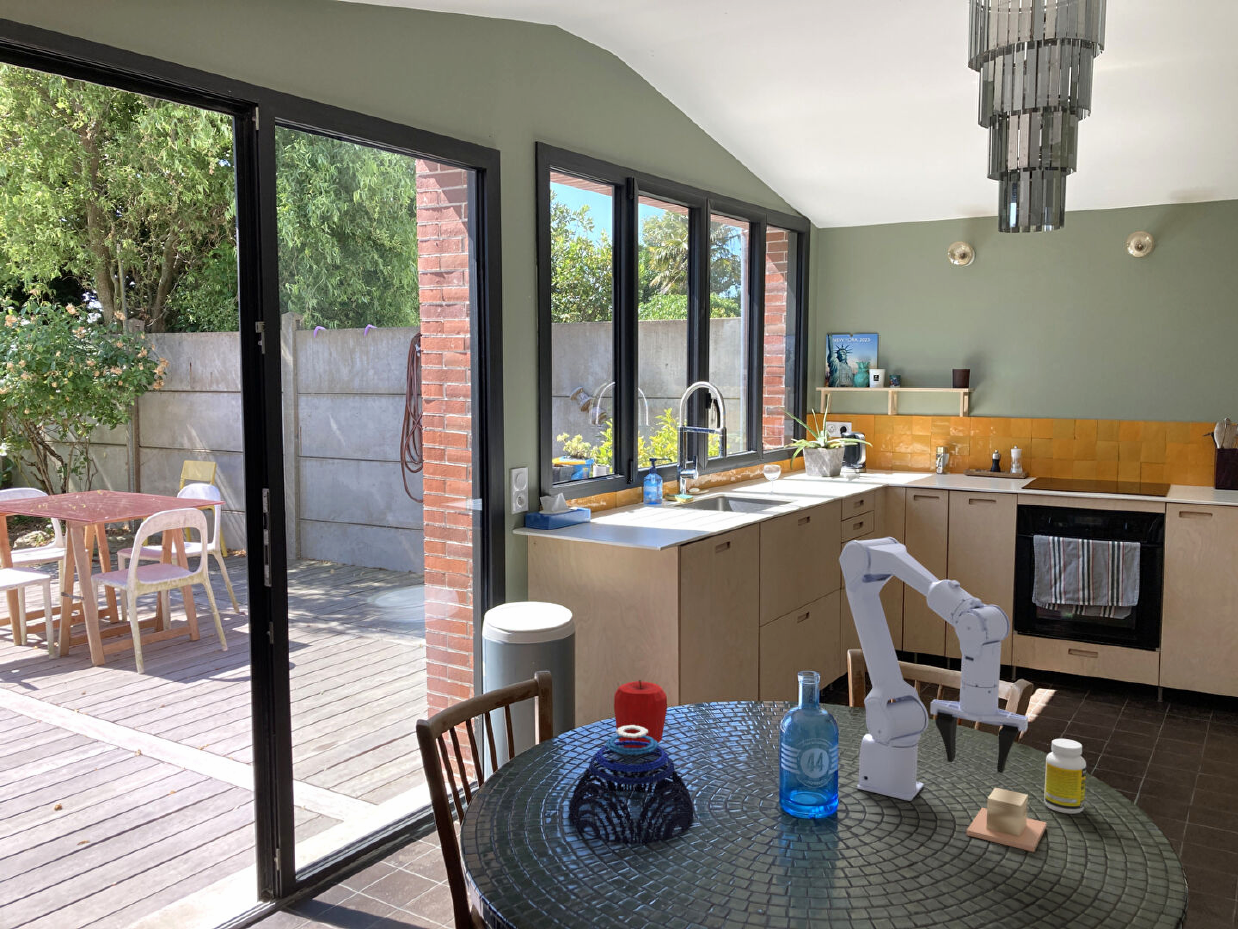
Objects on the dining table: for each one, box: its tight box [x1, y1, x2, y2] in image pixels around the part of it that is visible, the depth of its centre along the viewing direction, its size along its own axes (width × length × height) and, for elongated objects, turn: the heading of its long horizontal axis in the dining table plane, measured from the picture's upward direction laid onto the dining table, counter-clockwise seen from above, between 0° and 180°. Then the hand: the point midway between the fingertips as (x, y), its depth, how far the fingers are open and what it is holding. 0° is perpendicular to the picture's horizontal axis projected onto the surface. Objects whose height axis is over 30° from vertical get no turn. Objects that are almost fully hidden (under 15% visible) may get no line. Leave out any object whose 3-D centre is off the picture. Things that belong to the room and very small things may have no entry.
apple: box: [613, 679, 668, 748], centre depth 191 cm, size 11×10×14 cm
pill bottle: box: [1043, 738, 1087, 815], centre depth 167 cm, size 6×6×11 cm
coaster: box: [966, 807, 1047, 853], centre depth 158 cm, size 10×10×1 cm
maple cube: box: [986, 787, 1029, 837], centre depth 157 cm, size 5×5×5 cm
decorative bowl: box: [568, 725, 694, 845], centre depth 162 cm, size 20×20×14 cm
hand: (975, 765), depth 158 cm, fingers open, 7 cm apart
